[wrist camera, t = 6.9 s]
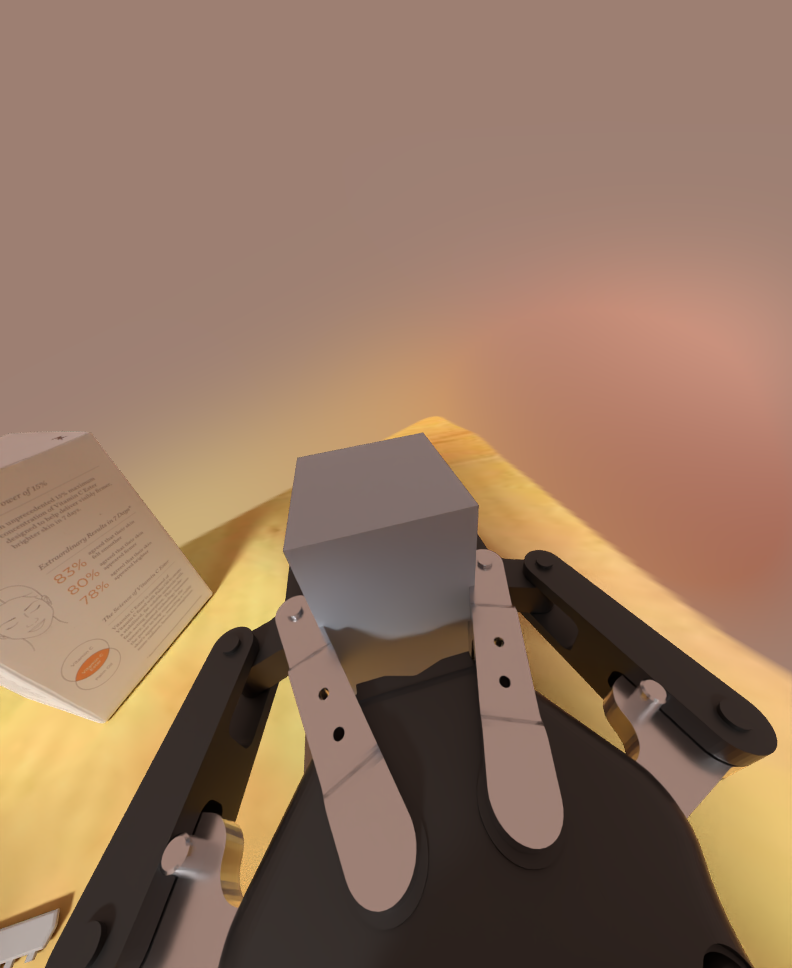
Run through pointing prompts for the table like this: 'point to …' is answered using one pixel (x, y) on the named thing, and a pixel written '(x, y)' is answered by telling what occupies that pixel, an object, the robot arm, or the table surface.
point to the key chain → (27, 937)
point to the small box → (83, 576)
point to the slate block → (384, 554)
